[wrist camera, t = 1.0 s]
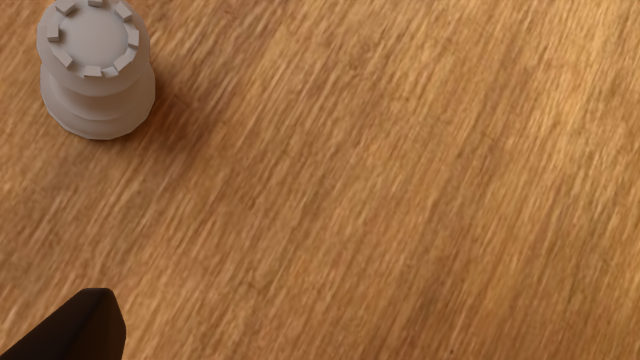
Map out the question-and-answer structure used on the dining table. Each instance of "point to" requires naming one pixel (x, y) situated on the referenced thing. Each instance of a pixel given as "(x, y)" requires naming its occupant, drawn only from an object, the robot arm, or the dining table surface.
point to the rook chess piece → (95, 67)
